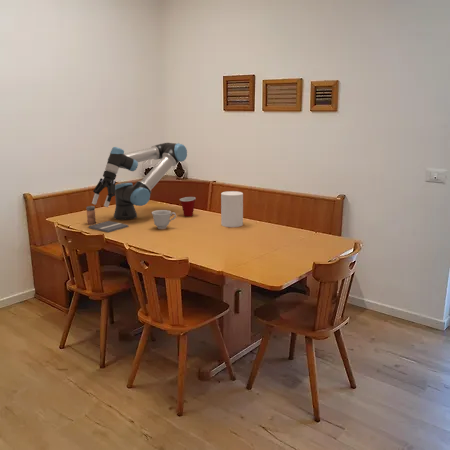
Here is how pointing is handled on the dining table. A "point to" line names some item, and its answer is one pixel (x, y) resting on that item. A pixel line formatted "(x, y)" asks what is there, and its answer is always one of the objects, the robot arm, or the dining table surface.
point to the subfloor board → (108, 226)
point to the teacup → (162, 218)
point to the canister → (232, 209)
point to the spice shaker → (91, 215)
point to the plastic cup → (188, 205)
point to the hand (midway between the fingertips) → (99, 205)
